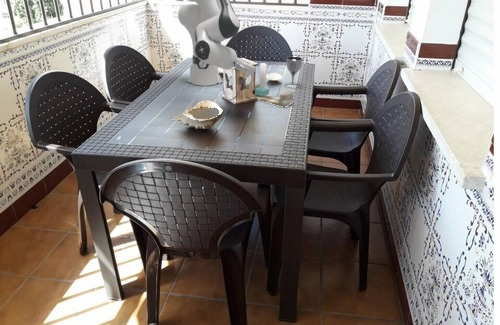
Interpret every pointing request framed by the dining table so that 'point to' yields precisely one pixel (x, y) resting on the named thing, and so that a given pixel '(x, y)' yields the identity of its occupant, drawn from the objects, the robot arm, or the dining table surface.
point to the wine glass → (294, 65)
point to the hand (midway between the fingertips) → (244, 64)
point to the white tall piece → (262, 81)
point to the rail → (276, 98)
